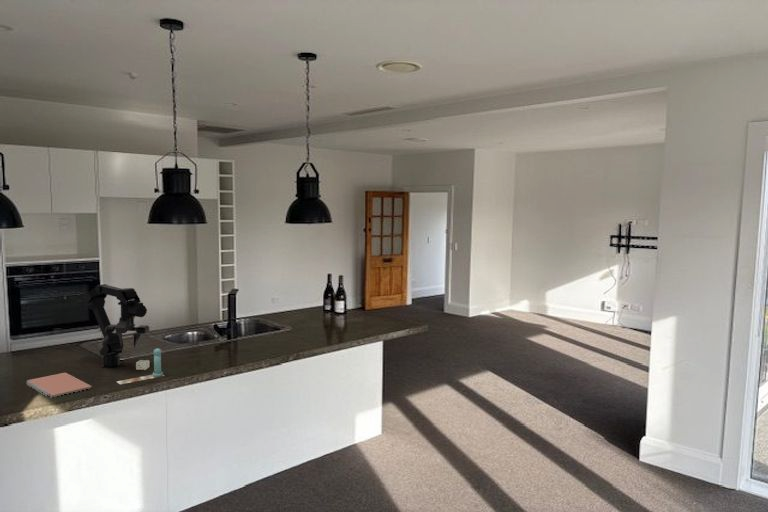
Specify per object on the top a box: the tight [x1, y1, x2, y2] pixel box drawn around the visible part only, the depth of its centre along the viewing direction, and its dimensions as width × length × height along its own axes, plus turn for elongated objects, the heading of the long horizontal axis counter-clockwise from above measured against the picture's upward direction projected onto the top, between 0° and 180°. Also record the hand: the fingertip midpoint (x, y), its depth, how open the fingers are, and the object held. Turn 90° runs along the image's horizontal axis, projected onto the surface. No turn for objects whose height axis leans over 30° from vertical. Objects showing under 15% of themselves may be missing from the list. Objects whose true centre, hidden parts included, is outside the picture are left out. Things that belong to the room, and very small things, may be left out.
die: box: [135, 359, 150, 371], centre depth 262 cm, size 5×5×5 cm
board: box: [116, 374, 165, 385], centre depth 247 cm, size 21×6×2 cm, turn 135°
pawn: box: [152, 348, 164, 378], centre depth 252 cm, size 4×4×13 cm
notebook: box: [26, 372, 93, 399], centre depth 238 cm, size 27×17×2 cm, turn 52°
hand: (127, 346), depth 261 cm, fingers open, 6 cm apart
